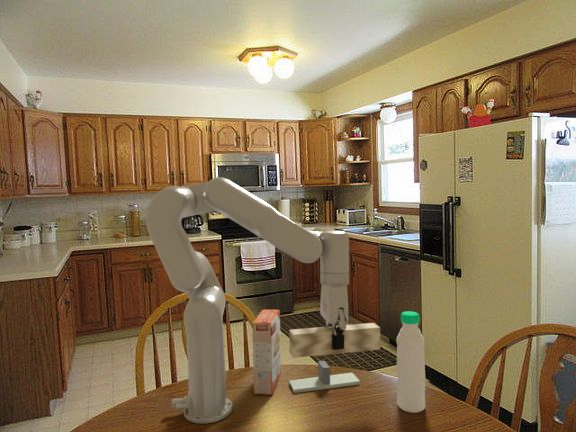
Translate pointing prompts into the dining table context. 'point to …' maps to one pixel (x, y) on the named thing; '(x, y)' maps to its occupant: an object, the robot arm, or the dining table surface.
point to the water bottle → (410, 364)
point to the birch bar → (321, 340)
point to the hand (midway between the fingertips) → (335, 345)
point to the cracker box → (266, 351)
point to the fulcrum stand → (323, 380)
